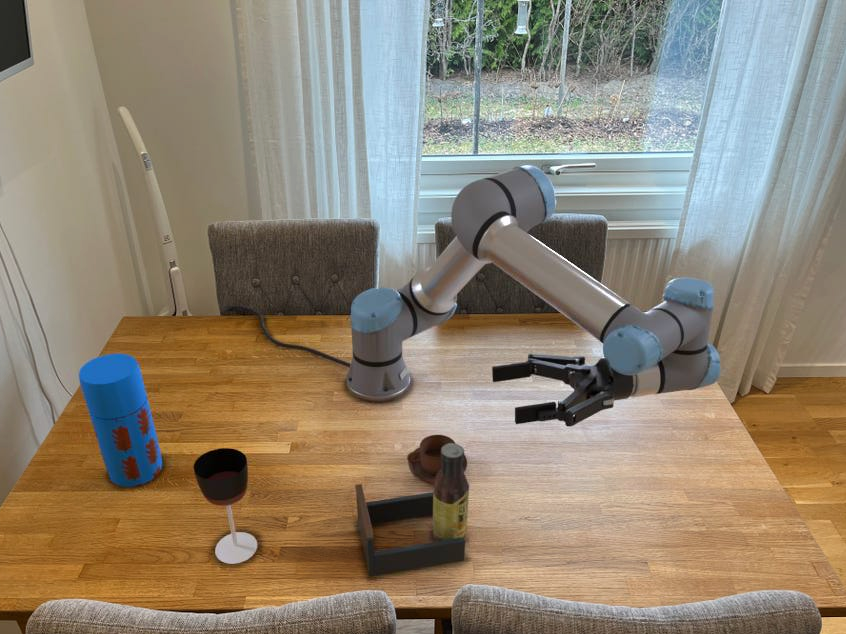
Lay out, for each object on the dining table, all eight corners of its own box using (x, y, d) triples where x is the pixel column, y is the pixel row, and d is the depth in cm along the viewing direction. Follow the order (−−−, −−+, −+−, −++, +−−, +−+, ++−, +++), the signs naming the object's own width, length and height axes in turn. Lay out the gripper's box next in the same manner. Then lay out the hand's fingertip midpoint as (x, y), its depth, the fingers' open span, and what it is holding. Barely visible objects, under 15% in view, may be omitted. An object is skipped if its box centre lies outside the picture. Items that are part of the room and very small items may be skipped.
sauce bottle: (463, 550, 129) (468, 466, 118) (429, 545, 130) (431, 462, 119) (468, 524, 134) (473, 441, 123) (435, 519, 135) (437, 437, 124)
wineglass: (214, 532, 133) (197, 449, 122) (262, 529, 133) (248, 446, 123) (208, 566, 126) (189, 481, 115) (258, 562, 127) (244, 478, 116)
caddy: (445, 508, 138) (446, 471, 132) (464, 561, 127) (466, 522, 122) (357, 522, 135) (355, 484, 130) (368, 577, 124) (367, 538, 119)
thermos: (173, 458, 151) (150, 358, 137) (142, 492, 142) (114, 389, 129) (130, 448, 154) (103, 349, 140) (97, 480, 145) (64, 378, 132)
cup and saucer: (426, 497, 140) (426, 473, 137) (398, 461, 149) (397, 438, 146) (478, 477, 145) (479, 454, 142) (447, 443, 154) (448, 421, 151)
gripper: (657, 435, 112) (526, 456, 110) (595, 361, 134) (485, 377, 132) (662, 394, 108) (526, 414, 106) (598, 325, 130) (484, 341, 128)
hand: (503, 394), depth 119 cm, fingers open, 13 cm apart
